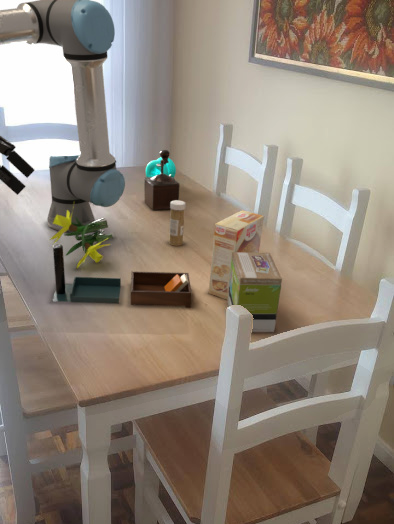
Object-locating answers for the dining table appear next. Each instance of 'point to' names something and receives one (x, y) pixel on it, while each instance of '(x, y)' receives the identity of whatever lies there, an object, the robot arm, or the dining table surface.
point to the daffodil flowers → (83, 235)
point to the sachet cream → (184, 280)
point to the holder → (158, 289)
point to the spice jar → (176, 222)
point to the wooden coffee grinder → (161, 187)
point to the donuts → (155, 170)
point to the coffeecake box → (232, 247)
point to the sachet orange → (173, 284)
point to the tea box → (255, 288)
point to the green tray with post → (83, 285)
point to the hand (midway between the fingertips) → (26, 182)
